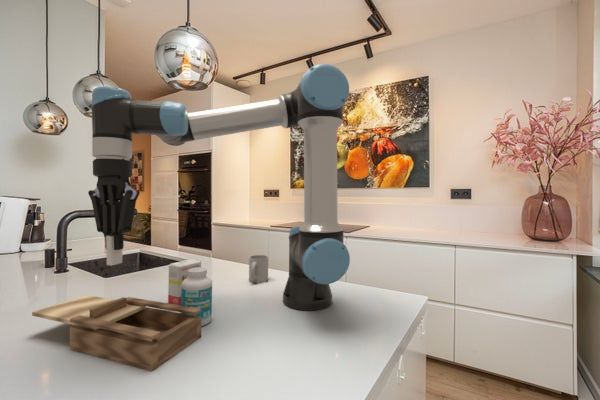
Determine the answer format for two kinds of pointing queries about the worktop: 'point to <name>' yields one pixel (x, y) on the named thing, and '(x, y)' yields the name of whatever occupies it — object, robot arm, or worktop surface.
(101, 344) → the box
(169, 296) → the ink box
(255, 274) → the cup
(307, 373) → the worktop surface
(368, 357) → the worktop surface
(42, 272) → the worktop surface
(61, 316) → the lid
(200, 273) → the pill bottle
